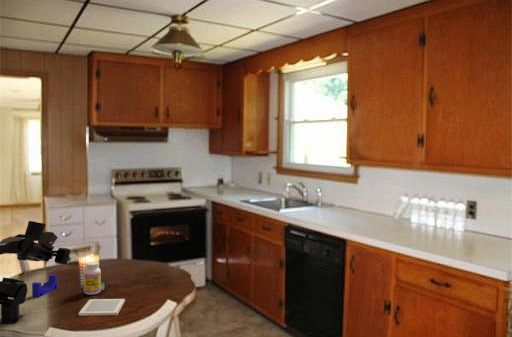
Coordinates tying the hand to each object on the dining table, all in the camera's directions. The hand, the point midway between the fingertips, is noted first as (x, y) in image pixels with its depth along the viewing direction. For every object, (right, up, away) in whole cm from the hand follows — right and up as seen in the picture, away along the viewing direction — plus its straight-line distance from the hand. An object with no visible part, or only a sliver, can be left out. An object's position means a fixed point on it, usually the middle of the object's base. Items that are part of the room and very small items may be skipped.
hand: (61, 258), depth 179 cm
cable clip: (-10, -16, +5) cm, 19 cm away
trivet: (+21, -17, -11) cm, 30 cm away
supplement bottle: (+11, -16, +6) cm, 20 cm away
